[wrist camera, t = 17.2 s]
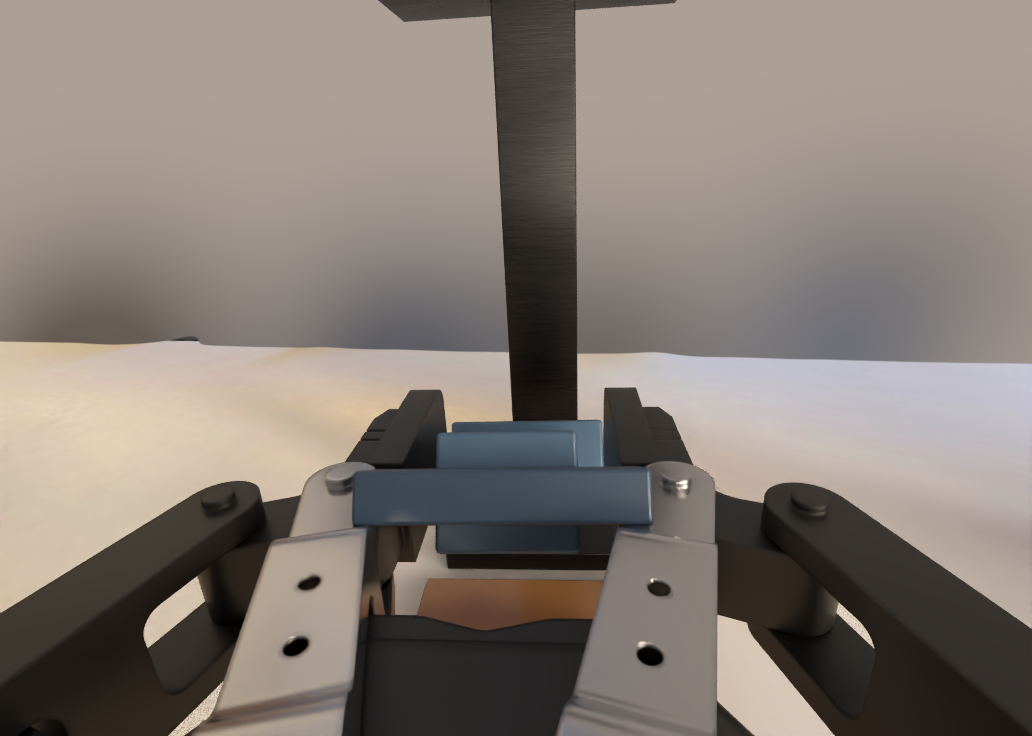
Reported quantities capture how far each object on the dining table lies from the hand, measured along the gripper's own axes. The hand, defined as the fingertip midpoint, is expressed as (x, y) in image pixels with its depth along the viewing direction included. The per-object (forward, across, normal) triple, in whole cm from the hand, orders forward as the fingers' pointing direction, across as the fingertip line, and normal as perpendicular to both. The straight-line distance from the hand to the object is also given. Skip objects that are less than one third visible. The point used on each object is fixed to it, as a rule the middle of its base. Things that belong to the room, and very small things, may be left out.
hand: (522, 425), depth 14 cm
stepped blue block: (+2, 0, +4) cm, 4 cm away
